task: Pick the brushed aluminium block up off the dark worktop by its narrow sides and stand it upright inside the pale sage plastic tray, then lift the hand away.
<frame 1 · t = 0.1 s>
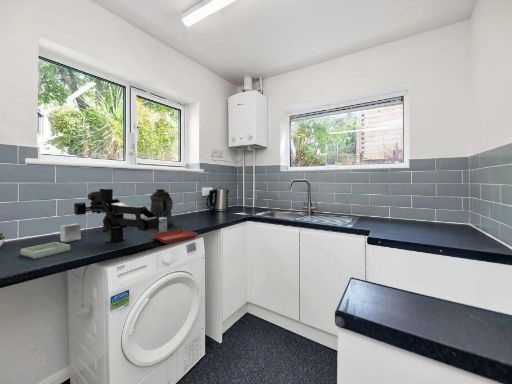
hand: (85, 206, 126), 17 cm above the counter, tool horizontal, fingers open, 9 cm apart
door stopper: (112, 229, 142), on the counter
dark olive backpack: (162, 226, 151), on the counter
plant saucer: (174, 240, 120), on the counter
medicine box: (163, 233, 134), on the counter
aluminium block: (71, 240, 118), on the counter
tray: (46, 252, 97), on the counter
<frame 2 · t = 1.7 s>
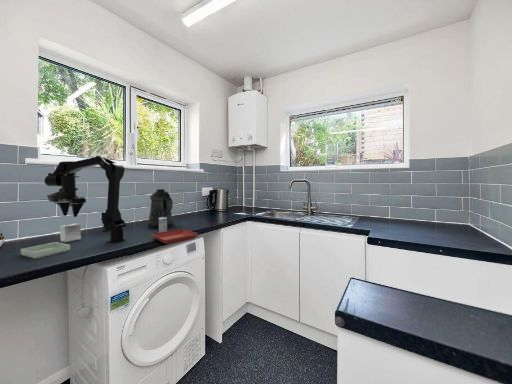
hand: (70, 216, 117), 12 cm above the counter, tool pointing down, fingers open, 9 cm apart
nothing on the counter moved.
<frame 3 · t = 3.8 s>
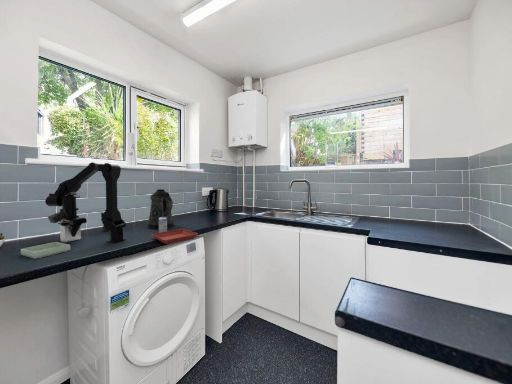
hand: (70, 236, 118), 2 cm above the counter, tool pointing down, fingers closed on aluminium block, 4 cm apart
aluminium block: (71, 240, 118), on the counter, touching gripper
everything else where it was.
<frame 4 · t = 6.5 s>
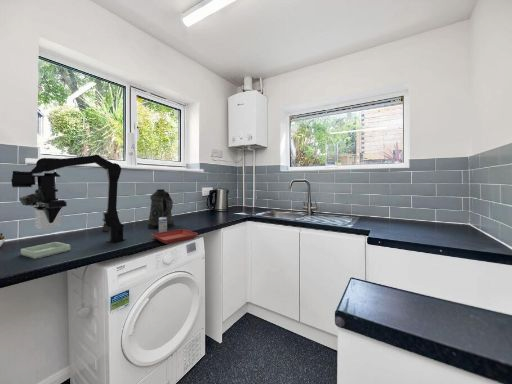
hand: (48, 222, 99), 13 cm above the counter, tool pointing down, fingers closed on aluminium block, 4 cm apart
aluminium block: (48, 227, 100), point 11 cm above the counter, touching gripper
everything else where it was.
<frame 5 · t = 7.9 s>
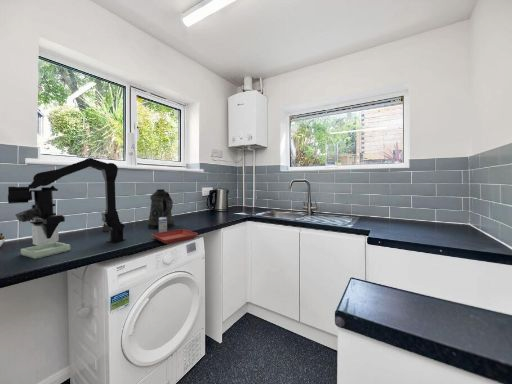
hand: (45, 237, 97), 6 cm above the counter, tool pointing down, fingers closed on aluminium block, 4 cm apart
aluminium block: (46, 242, 97), point 4 cm above the counter, touching gripper
everything else where it was.
when the fingers open (4 cm above the counter, at t = 9.2 s): aluminium block drops 1 cm, resting on tray.
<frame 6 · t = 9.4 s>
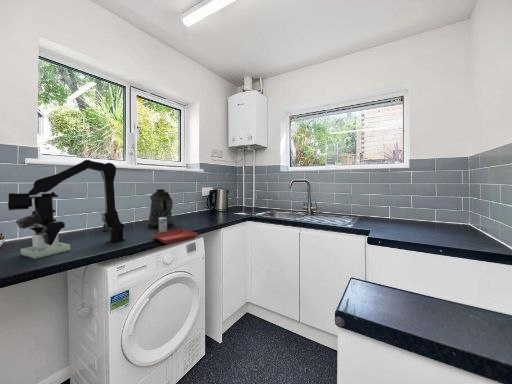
hand: (46, 243, 97), 4 cm above the counter, tool pointing down, fingers open, 7 cm apart
aluminium block: (46, 251, 97), point 1 cm above the counter, touching tray
everything else where it was.
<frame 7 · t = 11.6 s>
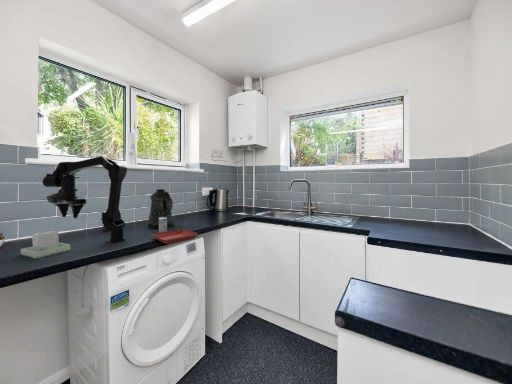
hand: (69, 217, 115), 12 cm above the counter, tool pointing down, fingers open, 9 cm apart
nothing on the counter moved.
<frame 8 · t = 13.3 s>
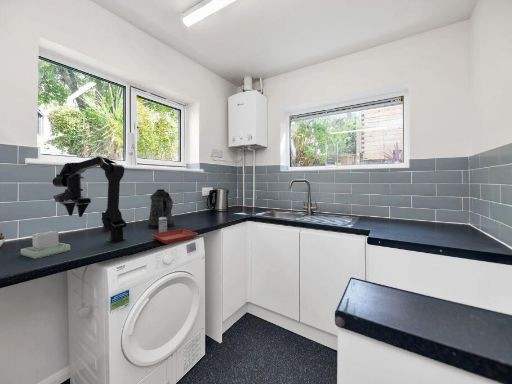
hand: (75, 216, 120), 12 cm above the counter, tool pointing down, fingers open, 9 cm apart
nothing on the counter moved.
at the end: aluminium block inside the target area on the tray (0.0 cm from its centre), point 0.6 cm above the tray's base; aluminium block tilted 0°; the gripper is holding nothing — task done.
